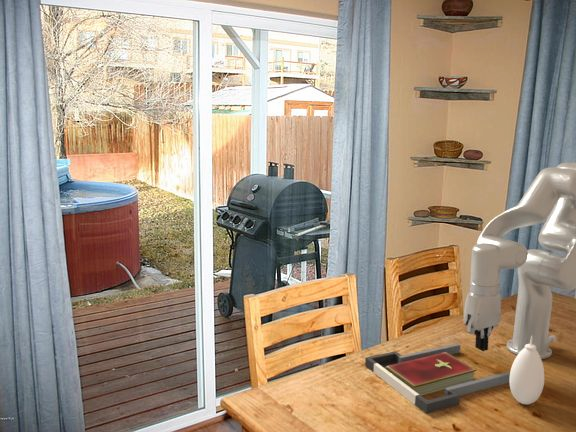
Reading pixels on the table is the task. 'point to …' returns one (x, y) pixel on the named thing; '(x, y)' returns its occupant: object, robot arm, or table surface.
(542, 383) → the rubber air blower
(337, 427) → the table surface
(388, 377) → the grey u-shaped frame
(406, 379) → the hardcover book
